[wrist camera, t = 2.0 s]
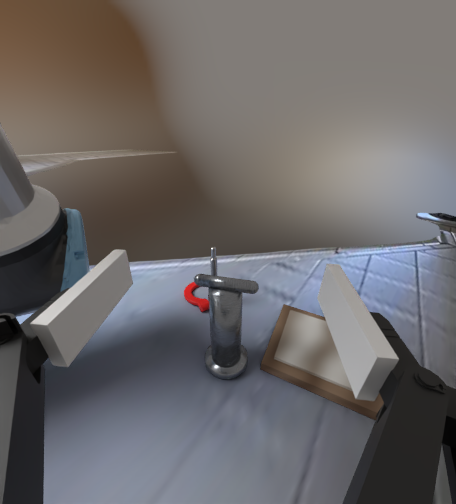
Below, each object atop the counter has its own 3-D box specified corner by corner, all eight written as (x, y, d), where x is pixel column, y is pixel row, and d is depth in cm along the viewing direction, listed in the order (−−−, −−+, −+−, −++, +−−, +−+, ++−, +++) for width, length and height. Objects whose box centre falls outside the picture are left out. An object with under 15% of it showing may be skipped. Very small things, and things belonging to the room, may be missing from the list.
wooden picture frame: (260, 369, 34) (261, 360, 33) (282, 310, 45) (284, 302, 44) (383, 424, 28) (389, 415, 27) (374, 340, 39) (378, 332, 38)
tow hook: (178, 292, 50) (198, 316, 43) (171, 237, 44) (194, 255, 37) (210, 279, 54) (234, 299, 47) (208, 228, 48) (235, 243, 42)
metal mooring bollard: (191, 371, 33) (183, 286, 27) (207, 339, 39) (203, 263, 33) (250, 386, 31) (254, 297, 25) (257, 349, 36) (262, 270, 31)
